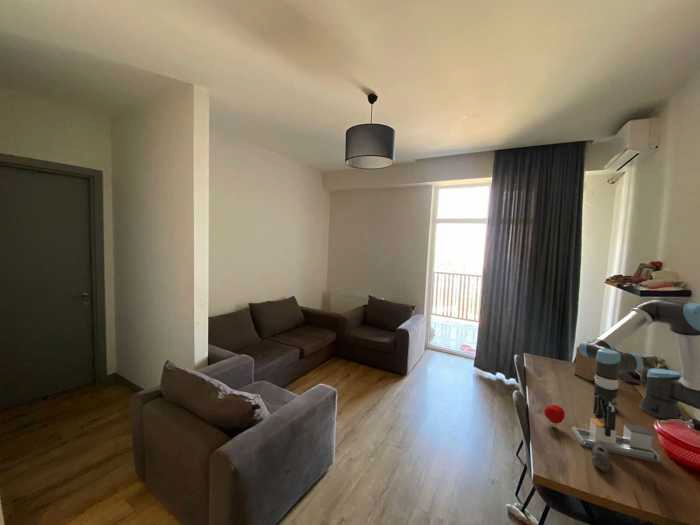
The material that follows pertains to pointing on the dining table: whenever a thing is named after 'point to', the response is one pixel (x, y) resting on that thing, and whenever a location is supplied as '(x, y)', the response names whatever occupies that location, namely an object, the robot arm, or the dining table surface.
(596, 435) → the module
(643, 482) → the dining table surface
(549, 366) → the dining table surface
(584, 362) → the wooden block
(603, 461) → the perforated stone tool
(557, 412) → the red round lump
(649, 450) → the rail
